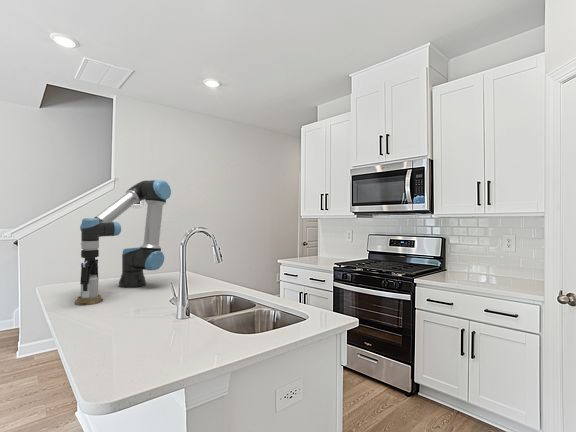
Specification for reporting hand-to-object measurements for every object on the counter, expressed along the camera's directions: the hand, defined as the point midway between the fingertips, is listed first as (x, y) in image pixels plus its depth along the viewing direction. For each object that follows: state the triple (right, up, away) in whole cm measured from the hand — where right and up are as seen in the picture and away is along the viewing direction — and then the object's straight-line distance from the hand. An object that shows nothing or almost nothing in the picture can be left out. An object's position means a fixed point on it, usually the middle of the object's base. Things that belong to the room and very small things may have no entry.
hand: (89, 295), depth 166 cm
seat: (0, -3, 0) cm, 3 cm away
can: (0, -2, 0) cm, 2 cm away
